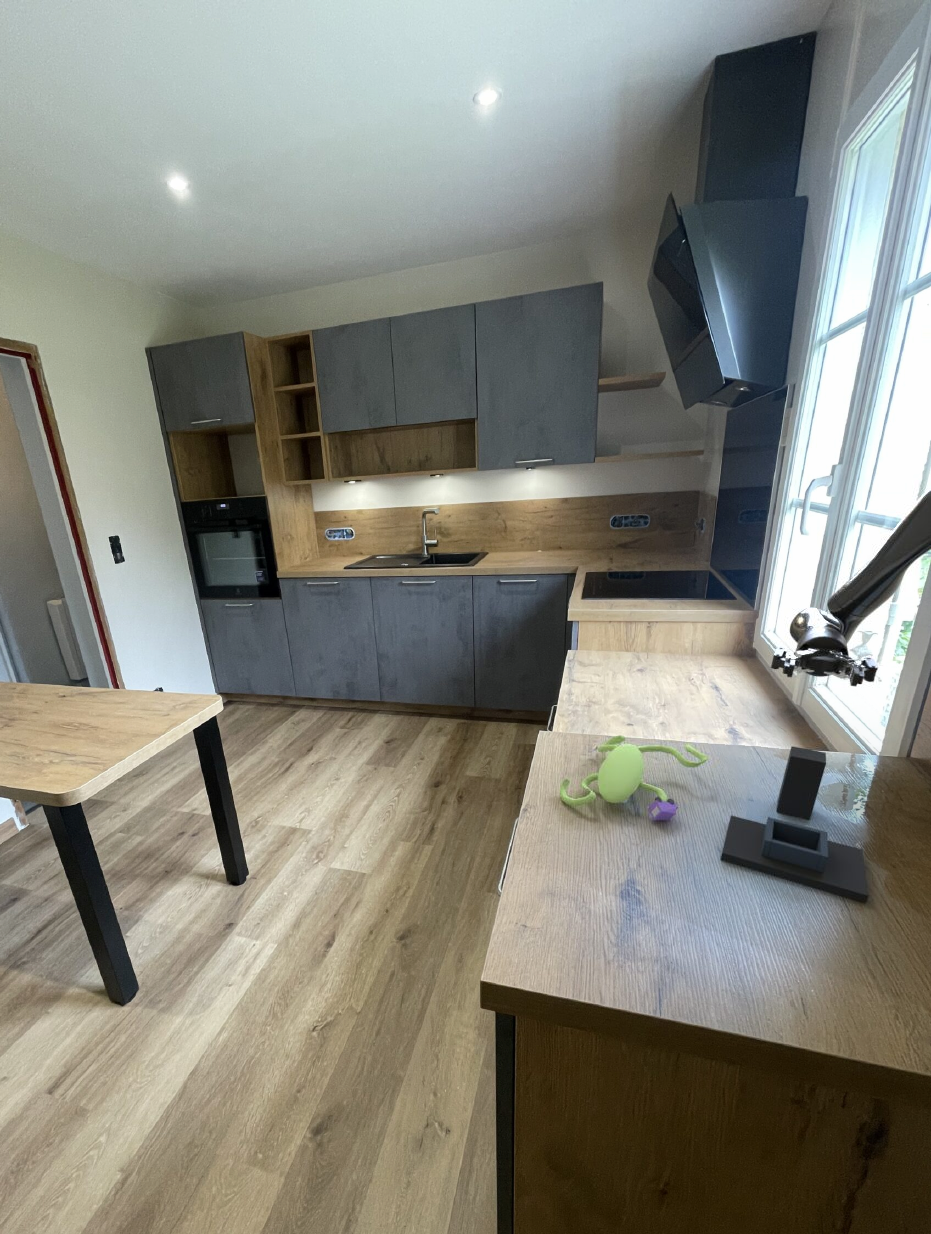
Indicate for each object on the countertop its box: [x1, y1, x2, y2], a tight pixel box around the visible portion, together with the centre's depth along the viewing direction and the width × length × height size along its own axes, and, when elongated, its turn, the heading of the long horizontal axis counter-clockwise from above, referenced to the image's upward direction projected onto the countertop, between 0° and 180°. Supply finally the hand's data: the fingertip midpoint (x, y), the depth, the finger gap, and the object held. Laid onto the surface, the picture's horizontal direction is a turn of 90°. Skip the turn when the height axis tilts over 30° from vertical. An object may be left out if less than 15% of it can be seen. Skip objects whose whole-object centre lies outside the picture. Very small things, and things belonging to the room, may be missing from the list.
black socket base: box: [720, 814, 869, 904], centre depth 76 cm, size 16×11×4 cm
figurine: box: [559, 735, 709, 821], centre depth 95 cm, size 18×27×6 cm
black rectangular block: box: [776, 745, 827, 821], centre depth 86 cm, size 4×4×10 cm
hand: (822, 676), depth 89 cm, fingers open, 8 cm apart
